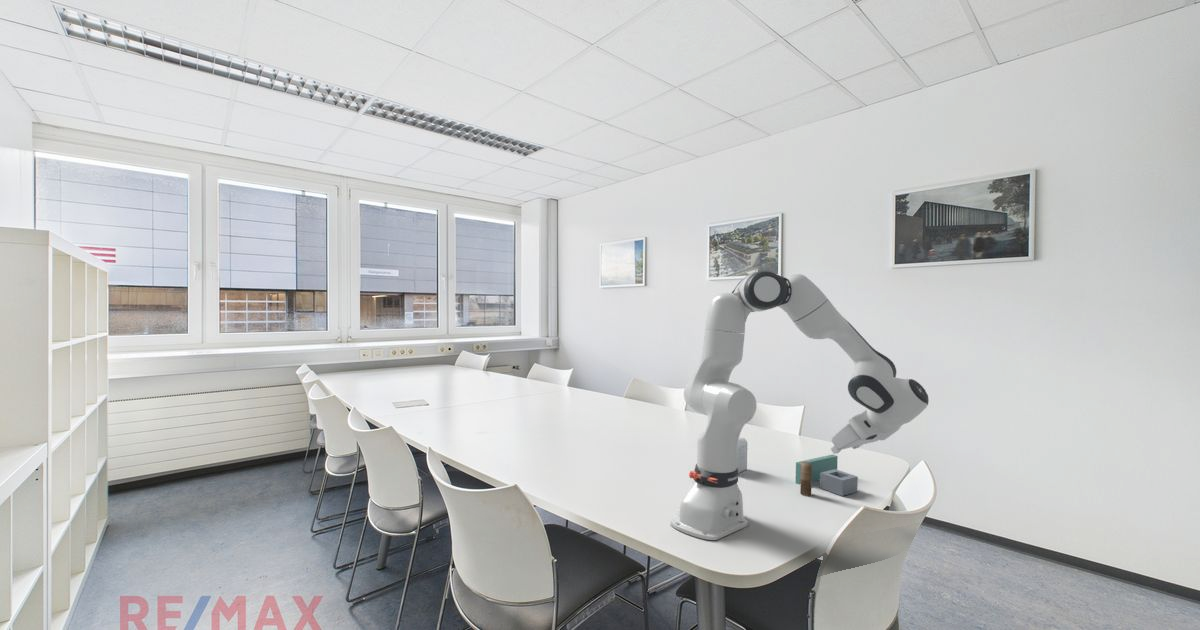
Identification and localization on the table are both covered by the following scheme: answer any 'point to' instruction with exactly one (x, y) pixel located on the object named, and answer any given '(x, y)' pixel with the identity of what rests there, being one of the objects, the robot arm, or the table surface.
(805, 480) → the walnut dowel
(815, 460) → the backstop board
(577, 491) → the table surface
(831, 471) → the socket block
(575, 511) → the table surface
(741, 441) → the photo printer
